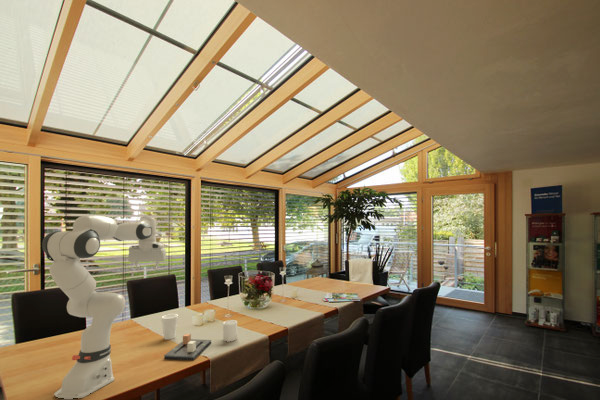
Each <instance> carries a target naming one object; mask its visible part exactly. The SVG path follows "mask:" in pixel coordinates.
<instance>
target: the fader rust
mask: <svg viewBox="0 0 600 400" xmlns="http://www.w3.org/2000/svg"><path fill="white" fill-rule="evenodd" d="M191 337H192V334H191V333H184V335H182V341H183V344H186V345H187V344H188V343H189V342H190V341H191V339H192V338H191Z"/></svg>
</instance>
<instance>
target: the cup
mask: <svg viewBox="0 0 600 400" xmlns="http://www.w3.org/2000/svg"><path fill="white" fill-rule="evenodd" d="M222 330H223V333H222V339H223V341H224V342H226V341H227V343H229V342H230V341H231V342H235V341H236V340H237V339H238V321H237V320H235V319H228V320H225V321H223V324H222ZM234 340H235V341H234Z"/></svg>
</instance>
